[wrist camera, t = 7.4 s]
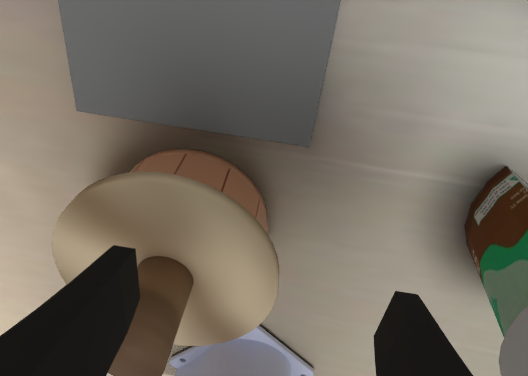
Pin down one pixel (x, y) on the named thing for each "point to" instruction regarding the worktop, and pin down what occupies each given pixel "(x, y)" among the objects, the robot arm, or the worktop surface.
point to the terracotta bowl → (209, 176)
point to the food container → (504, 261)
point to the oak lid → (173, 261)
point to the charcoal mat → (202, 62)
